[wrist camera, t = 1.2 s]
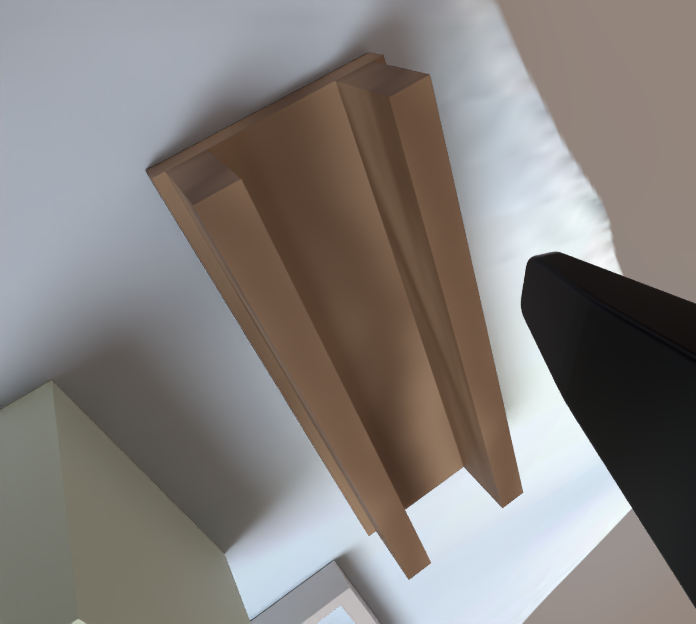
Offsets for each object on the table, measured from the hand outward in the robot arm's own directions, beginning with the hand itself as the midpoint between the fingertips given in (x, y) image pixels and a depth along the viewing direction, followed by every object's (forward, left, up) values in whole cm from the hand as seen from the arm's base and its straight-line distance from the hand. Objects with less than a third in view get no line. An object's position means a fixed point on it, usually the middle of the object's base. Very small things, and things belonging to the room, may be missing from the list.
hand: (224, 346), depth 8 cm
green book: (-8, -13, -13) cm, 20 cm away
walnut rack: (+5, -13, -13) cm, 19 cm away
